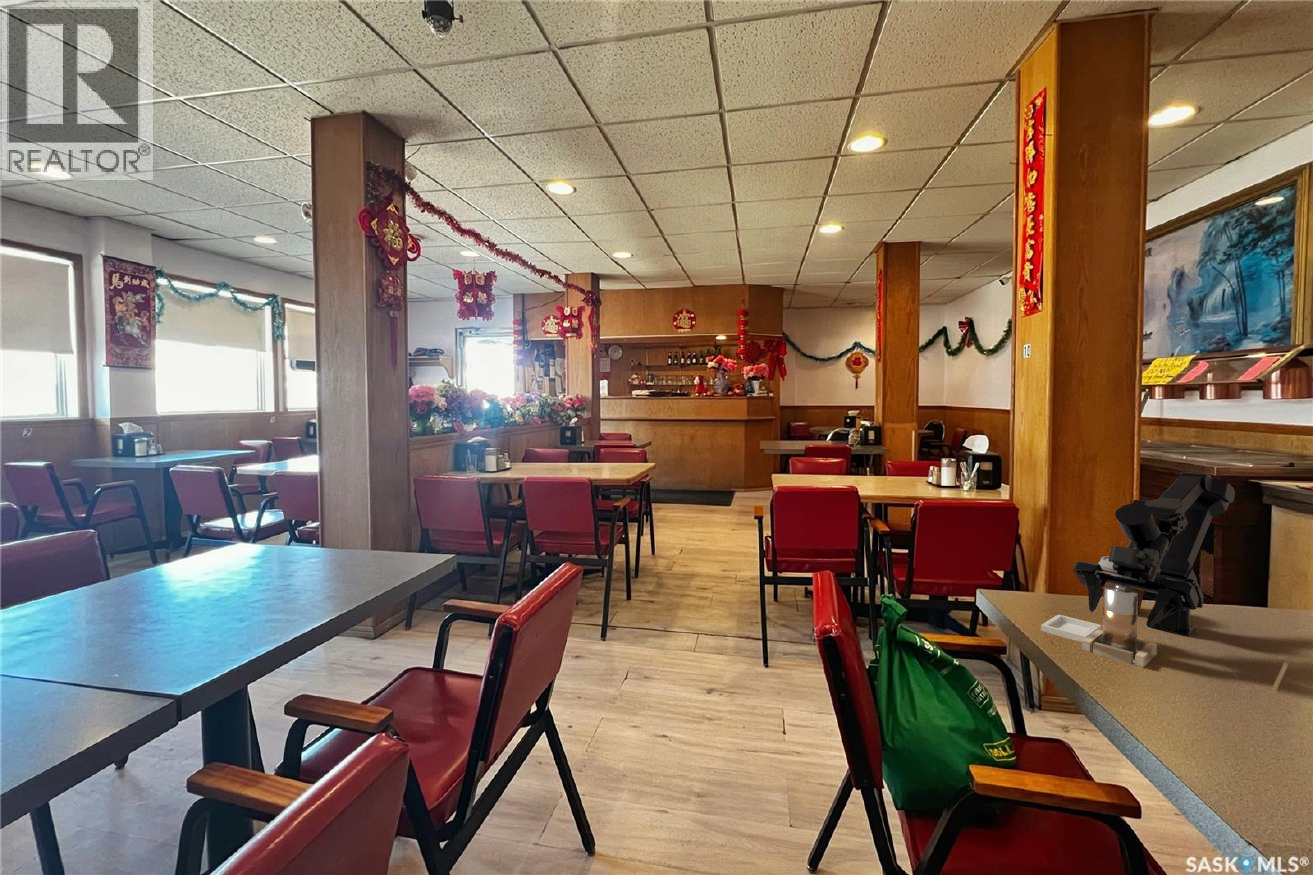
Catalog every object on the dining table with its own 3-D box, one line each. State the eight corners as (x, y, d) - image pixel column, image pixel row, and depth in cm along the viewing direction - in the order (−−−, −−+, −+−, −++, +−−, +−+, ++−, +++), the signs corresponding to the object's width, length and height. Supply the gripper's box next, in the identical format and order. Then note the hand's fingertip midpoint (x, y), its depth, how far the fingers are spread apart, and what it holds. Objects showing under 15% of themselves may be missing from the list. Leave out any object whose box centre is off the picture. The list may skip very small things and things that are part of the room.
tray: (1058, 622, 126) (1058, 614, 126) (1101, 633, 119) (1101, 625, 119) (1040, 633, 120) (1041, 625, 120) (1085, 645, 113) (1085, 636, 113)
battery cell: (1107, 644, 113) (1108, 580, 112) (1139, 653, 108) (1141, 586, 108) (1098, 651, 110) (1100, 585, 109) (1132, 660, 105) (1133, 592, 105)
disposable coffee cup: (1088, 602, 138) (1089, 555, 138) (1130, 603, 137) (1131, 556, 136) (1114, 616, 129) (1115, 566, 128) (1159, 617, 127) (1161, 566, 127)
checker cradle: (1097, 640, 116) (1098, 629, 115) (1156, 656, 108) (1157, 644, 108) (1082, 652, 110) (1082, 640, 110) (1143, 670, 102) (1143, 657, 102)
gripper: (1078, 523, 118) (1051, 582, 113) (1195, 540, 102) (1169, 609, 97) (1094, 554, 123) (1069, 612, 118) (1208, 575, 106) (1185, 643, 101)
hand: (1118, 618), depth 108 cm, fingers open, 9 cm apart
